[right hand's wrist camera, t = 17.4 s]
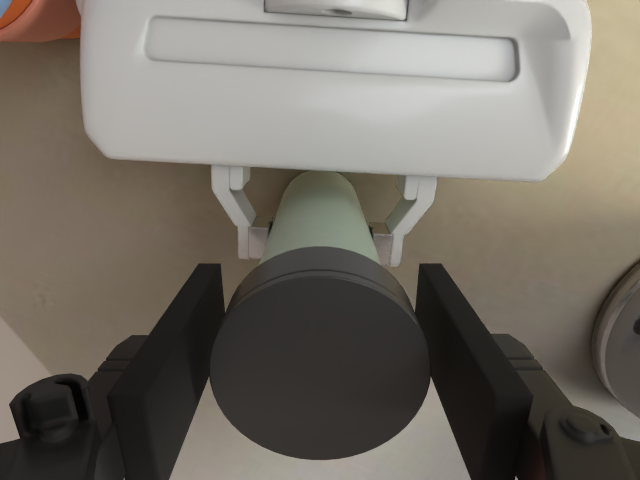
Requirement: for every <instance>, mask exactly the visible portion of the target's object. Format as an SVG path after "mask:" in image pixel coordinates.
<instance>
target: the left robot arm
mask: <svg viewBox="0 0 640 480" xmlns="http://www.w3.org/2000/svg"><path fill="white" fill-rule="evenodd" d="M75 1H76V5H77V8H78V11H79V13H80V15H81V31H80V87H81V104H82V117H83V124H84V129H85V132H86V134H87V136H88V137H89V139H90V140H91V141H92V142H93V143H94V145H95V146H96V147H97V148H98V149H99V150H100V151H101V153H102V154H103V155H104V156H105V157H107V158H109V159H117V160H134V161H152V162H170V163H188V164H206V165H211V184H212V191H213V192H214V194H215V196H216V197H217V199H218V200H219V202H220V203H221V205H222V207H223V208H224V210H225V211H226V213H227V214H228V216H229V218H230V219H231V221H232V222H233V224H234V225H235V226H237V227H238V257H239V259H261V257H262V254H263V251H264V248H265V245H266V242H267V239H268V237H269V234H270V231H271V228H272V225H273V217H263V216H257V215H256V213H255V211H254V209H253V207H252V205H251V204H250V202H249V200H248V198H247V196H246V195H245V193H244V191H243V189H242V188H243V187H244V186H245V185H246V183H247V182H248V181H249V180H250V167H260V168H279V169H297V170H315V171H333V172H351V173H369V174H387V175H397V178H396V188H397V189H398V191H399V192H400V193H401V194H402V196H403V197H402V198H401V200H400V201H399V202H398V204H397V205H396V207H395V208H394V210H393V211H392V212H391V214H390V215H389V217H388V218H387V219H386V221H385V223H375V222H369V226H368V228H369V231H370V234H371V237H372V240H373V242H374V245H375V248H376V251H377V254H378V257H379V259H380V262H381V265H382V266H391V267H398V266H399V265H400V261H401V254H402V246H403V239H404V235H407V234H408V233H409V232H410V230H411V229H412V228H413V227H414V225H415V224H416V223H417V222H418V220H419V219H420V218H421V217H422V216H423V214H424V213H425V212H426V211H427V209H428V208H429V207H430V206H431V205H432V203H433V202H434V196H435V190H436V184H437V178H438V177H441V178H459V179H477V180H495V181H513V182H531V183H537V182H541V181H543V180H544V179H546V178H547V177H548V176H549V175H550V174H551V173H552V172H554V171H555V170H556V169H557V168H558V167H559V166H560V165H561V164H562V163H563V162H564V160H565V159H566V157H567V155H568V153H569V150H570V147H571V144H572V140H573V137H574V133H575V129H576V125H577V121H578V117H579V112H580V108H581V103H582V98H583V93H584V88H585V82H586V77H587V71H588V64H589V57H590V49H591V39H592V22H591V15H590V11H589V7H588V4H587V2H586V0H75Z"/></svg>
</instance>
